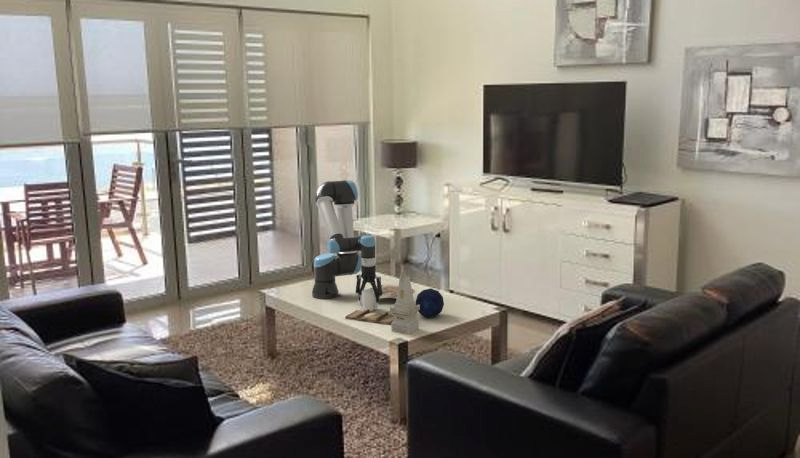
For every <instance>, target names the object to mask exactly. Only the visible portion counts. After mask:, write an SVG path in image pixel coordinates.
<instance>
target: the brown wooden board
mask: <svg viewBox="0 0 800 458" xmlns="http://www.w3.org/2000/svg"><path fill="white" fill-rule="evenodd" d="M345 319H346V320H354V321H360V322H367V323H375V324H381V325H388V326H389V325H392V324H391V323H392V322H393V314H390V313H389V311H386V312H384V313H383V312H382V313H381V312H377V311H375V312H374V311H370V309H368V310H366V311H365V310H359V309H356V310H354V311H352V312H351V313H349V314H347V315H345Z"/></svg>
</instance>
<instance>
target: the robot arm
mask: <svg viewBox="0 0 800 458" xmlns="http://www.w3.org/2000/svg"><path fill="white" fill-rule="evenodd" d="M314 195H315V196H314V201H315V205H316V207H317V208H318V209H319V211H320V214H321V218H322V221H323V223H324V227H325V229H326V232H327V235H328V239H327V242H326V246H327V247H326V248H327V250H328V252H329V253H323V254H320V255H318V256H316V257H315V258H314V259H313V269H314V285H313V288H312V291H311V297H312V298H315V299H319V300H322V299H323V300H324V299H325V300H327V299H333V298H337V297H339V295H340V294H339V292H340V291H339V289H338V284H337V283H336V277H342V276H352V275H356V285H355V293H356V294H358V299H359V301H360V308H363V304H362V290H365V289H366V285H367V283H369V284H370V286H371V288H373V291H374V293H375V297H374V309H375V310H376V309H378V308H379V302H380V299H379V296H381V295H382V294H383V293H382V286H381V285H382V276H378V275H377V274H376V273H377V267H376V263H377V262H376V261H377V259H376V244H377V243H376V238H375V236H374V235H371V234H370V235H355V236H354V233H355V232H354V218H353V207H354V206H355V201H357V200H358V197H359V194H358V188H357V186H356V183H355V182H354V181H353V180H331V181H325V182H323V183H321V184H320V185H319V186H318V188H317V189H316V190H315V194H314ZM334 206H335V207H336V210H337V213H336V211H335V207H334ZM358 252H360V253H358ZM335 254H336V255H335ZM360 272H361V273H360ZM377 288H378V289H377Z"/></svg>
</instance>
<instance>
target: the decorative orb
mask: <svg viewBox="0 0 800 458" xmlns="http://www.w3.org/2000/svg"><path fill="white" fill-rule="evenodd" d="M415 304H416V307H417V305H420V310H418V311H417V313H419V314H420V316H423V317H426V318H428V319H429V318H434V317H437V316H438V315H439V314H440V313H442V312H443V309H444V306H445V303H444V297H443V295H442V294H441V292H440V291H439V290H436V289H433V288H430V287H429V288H426V289H423V290H421V291H420V292H419V293H418V294H417V295H416V299H415Z"/></svg>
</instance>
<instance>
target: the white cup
mask: <svg viewBox="0 0 800 458" xmlns="http://www.w3.org/2000/svg"><path fill="white" fill-rule="evenodd" d="M374 297H375V293H374V291H373V289H369V288H364V290H362V304H363V307H362V311H366V310H368V309H370V312H374V311H375V310H376V309H374Z"/></svg>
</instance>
